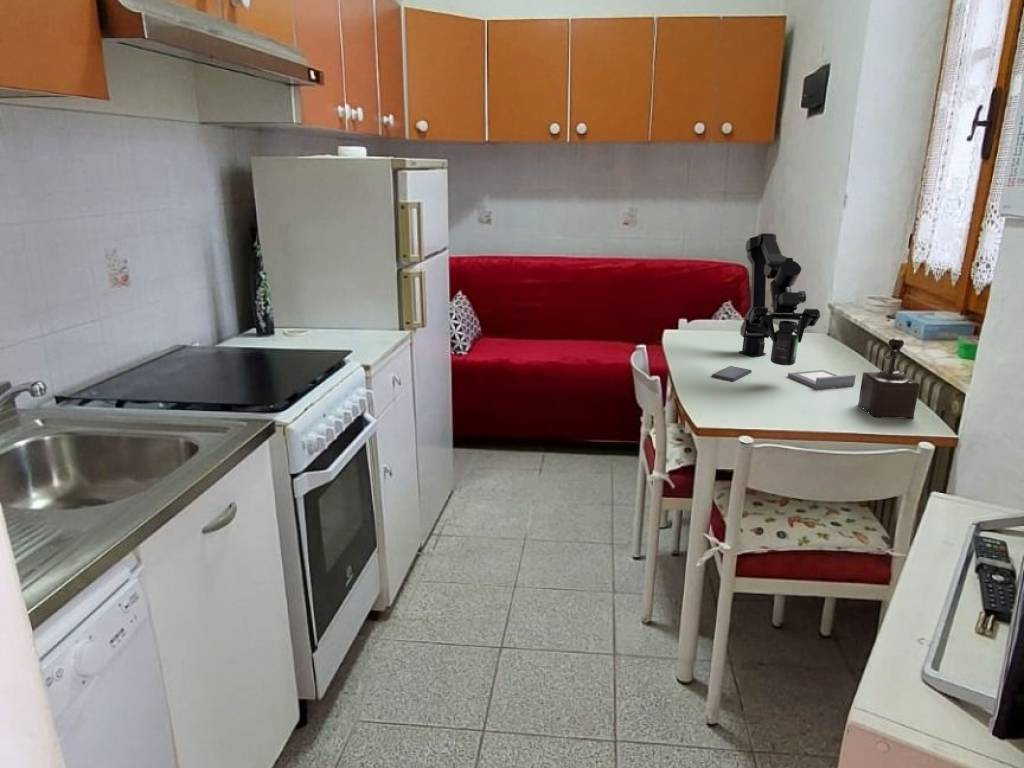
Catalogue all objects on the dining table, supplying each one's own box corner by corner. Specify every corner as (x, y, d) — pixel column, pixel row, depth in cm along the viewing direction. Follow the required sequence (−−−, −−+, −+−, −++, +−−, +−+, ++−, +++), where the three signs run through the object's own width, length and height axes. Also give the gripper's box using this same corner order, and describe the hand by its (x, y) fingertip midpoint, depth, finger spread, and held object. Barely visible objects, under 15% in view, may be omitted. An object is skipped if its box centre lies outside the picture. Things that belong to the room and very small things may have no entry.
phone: (711, 376, 213) (712, 374, 213) (730, 368, 223) (730, 365, 222) (733, 381, 209) (734, 378, 209) (751, 372, 218) (751, 369, 218)
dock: (787, 376, 214) (789, 366, 214) (822, 373, 218) (824, 363, 217) (817, 389, 203) (819, 378, 202) (854, 385, 207) (855, 375, 206)
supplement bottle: (800, 365, 203) (806, 324, 199) (779, 366, 202) (785, 325, 198) (785, 358, 209) (791, 319, 206) (765, 359, 208) (770, 320, 204)
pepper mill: (917, 419, 180) (931, 351, 175) (873, 417, 181) (885, 349, 175) (889, 399, 195) (901, 336, 190) (849, 398, 196) (859, 335, 190)
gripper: (756, 279, 203) (761, 325, 196) (823, 281, 201) (830, 328, 194) (747, 301, 213) (751, 345, 206) (810, 303, 211) (817, 348, 204)
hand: (787, 341), depth 202 cm, fingers closed on supplement bottle, 7 cm apart
